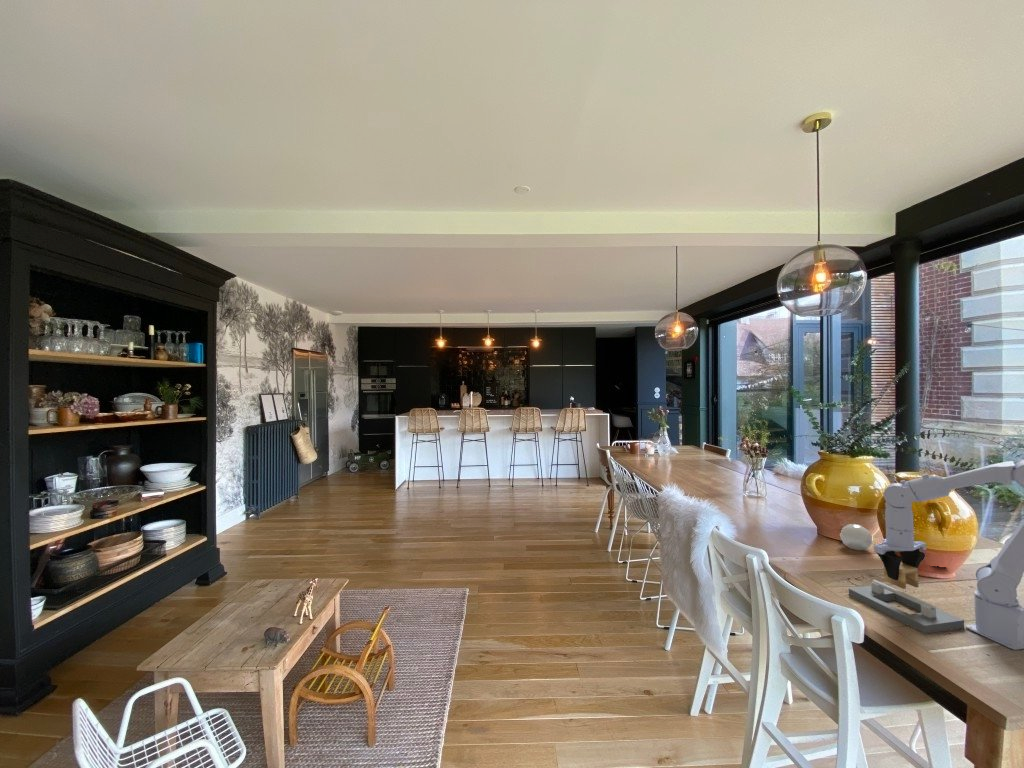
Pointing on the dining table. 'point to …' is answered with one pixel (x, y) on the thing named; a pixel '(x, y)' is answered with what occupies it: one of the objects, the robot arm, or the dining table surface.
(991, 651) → the dining table surface
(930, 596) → the dining table surface
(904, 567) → the ochre u-shaped block
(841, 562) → the dining table surface
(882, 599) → the grey slotted base plate
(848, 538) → the white egg shape
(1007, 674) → the dining table surface
